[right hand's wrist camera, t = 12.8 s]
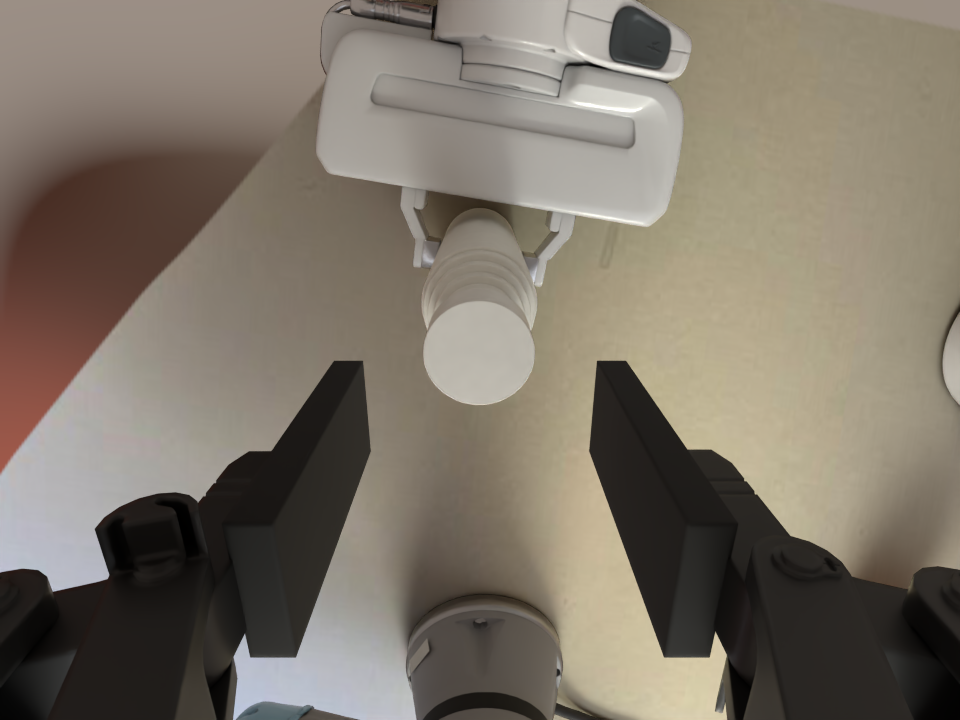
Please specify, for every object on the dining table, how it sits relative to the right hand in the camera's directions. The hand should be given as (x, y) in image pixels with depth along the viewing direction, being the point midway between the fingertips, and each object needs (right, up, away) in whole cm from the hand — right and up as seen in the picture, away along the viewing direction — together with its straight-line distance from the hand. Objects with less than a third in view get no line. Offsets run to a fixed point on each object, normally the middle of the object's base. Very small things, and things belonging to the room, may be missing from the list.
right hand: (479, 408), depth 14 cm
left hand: (0, +7, +19) cm, 20 cm away
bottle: (0, +10, +25) cm, 27 cm away
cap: (0, +2, +4) cm, 4 cm away
